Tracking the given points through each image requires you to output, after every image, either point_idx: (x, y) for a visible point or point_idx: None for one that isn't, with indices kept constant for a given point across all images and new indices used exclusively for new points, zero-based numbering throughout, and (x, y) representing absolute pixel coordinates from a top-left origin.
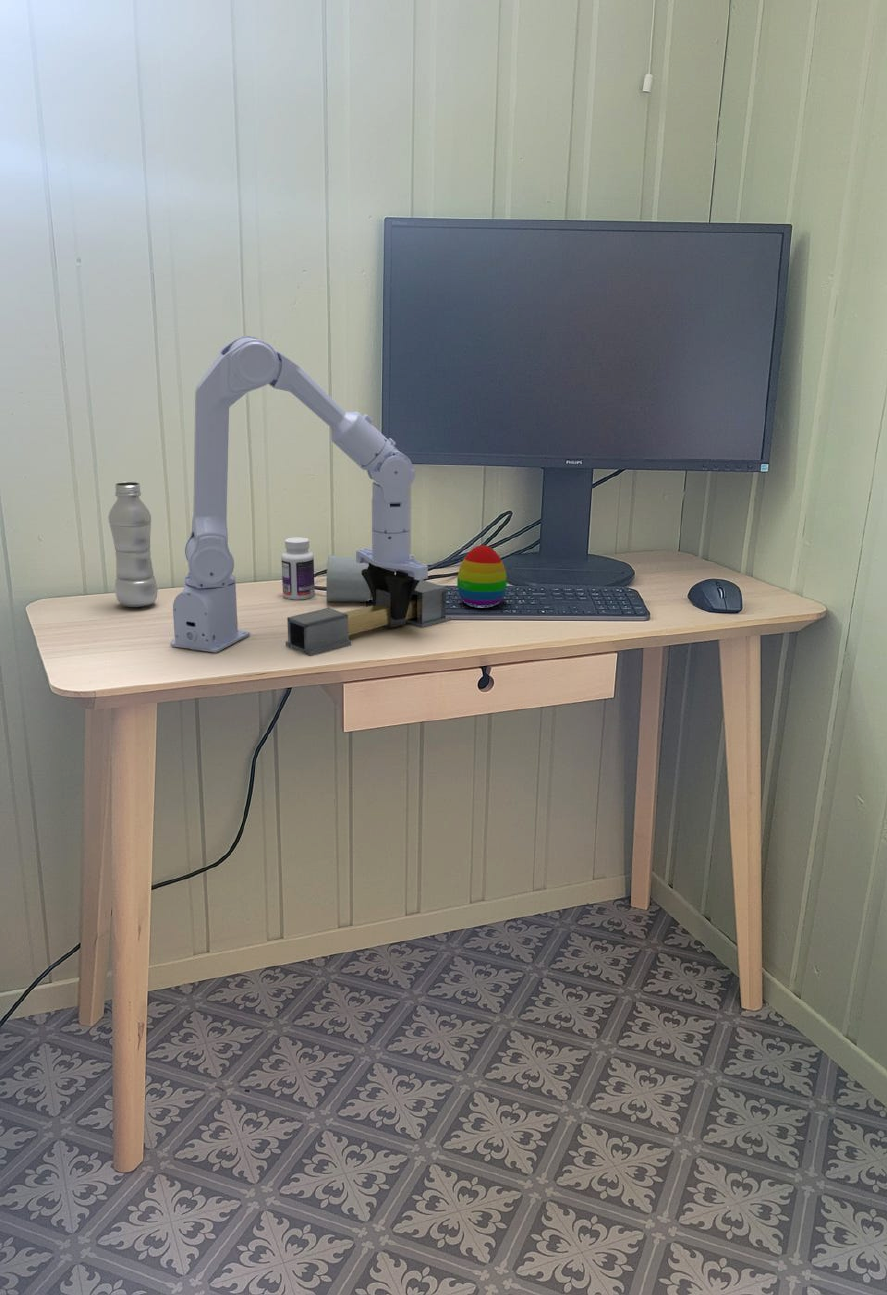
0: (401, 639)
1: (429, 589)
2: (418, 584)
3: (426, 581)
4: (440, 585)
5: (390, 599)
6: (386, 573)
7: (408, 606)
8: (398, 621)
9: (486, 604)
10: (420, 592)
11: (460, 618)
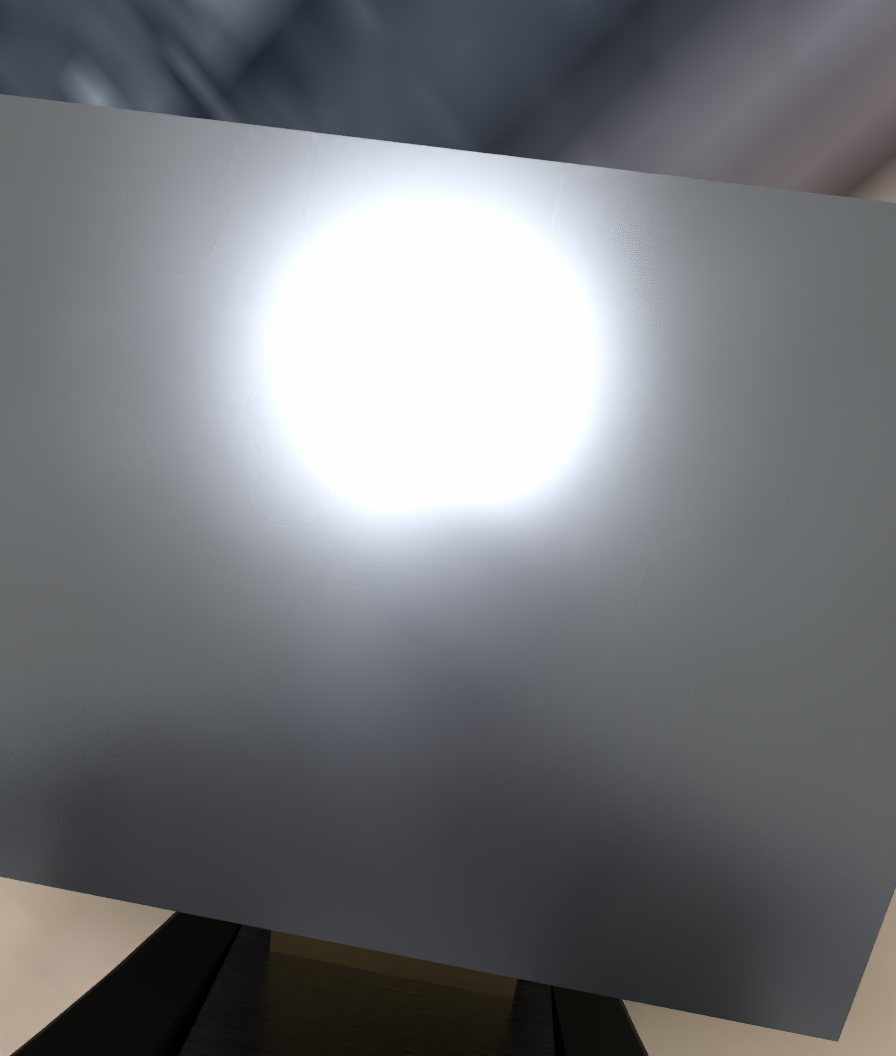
0: (734, 1052)
1: (823, 750)
2: (290, 554)
3: (223, 135)
4: (865, 206)
5: None
6: None
7: (637, 1034)
8: None
9: None
10: (767, 1021)
11: (867, 116)
